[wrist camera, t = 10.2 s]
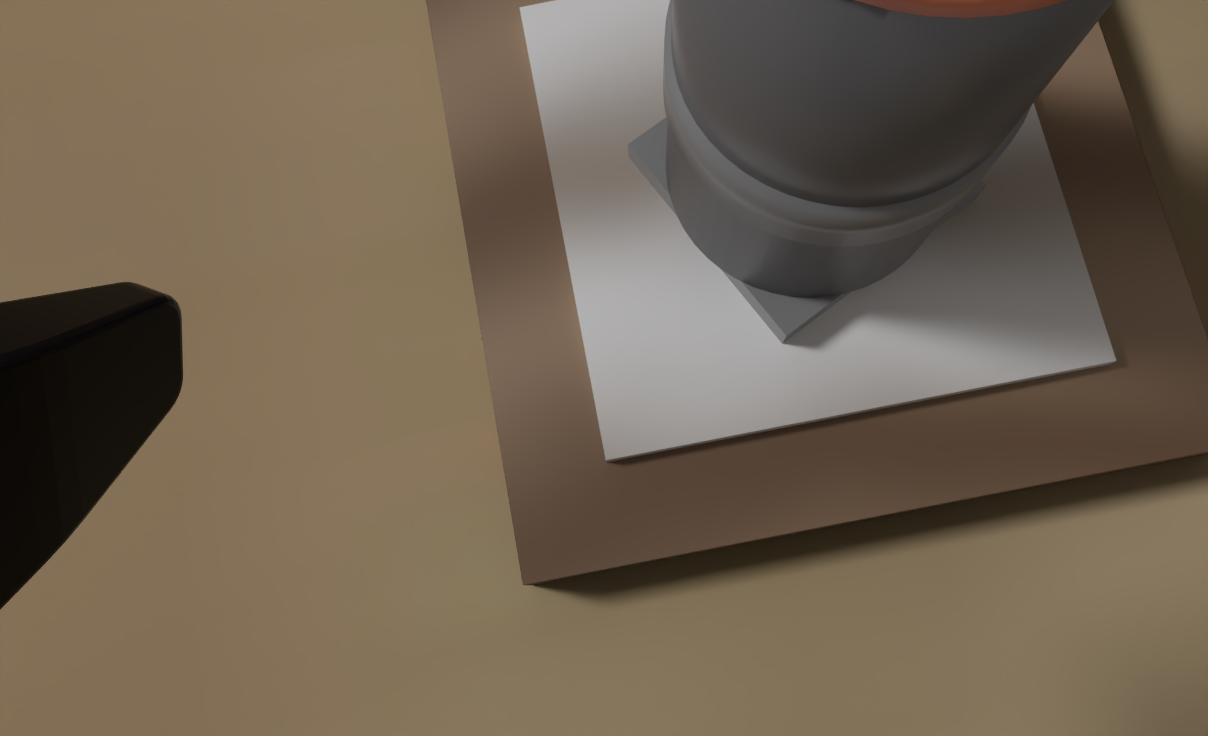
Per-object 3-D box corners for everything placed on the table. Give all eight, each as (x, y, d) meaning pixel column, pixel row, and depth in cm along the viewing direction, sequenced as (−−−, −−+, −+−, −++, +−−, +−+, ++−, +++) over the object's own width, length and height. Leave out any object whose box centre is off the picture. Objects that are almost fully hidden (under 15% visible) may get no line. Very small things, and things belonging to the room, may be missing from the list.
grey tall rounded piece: (1001, 200, 19) (1434, -277, 9) (779, 368, 19) (950, 77, 8) (819, 2, 21) (1003, -633, 10) (604, 154, 20) (555, -343, 9)
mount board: (1208, 452, 20) (1253, 442, 18) (530, 585, 20) (520, 584, 18) (1013, -128, 23) (1039, -176, 21) (430, -14, 23) (415, -55, 21)
